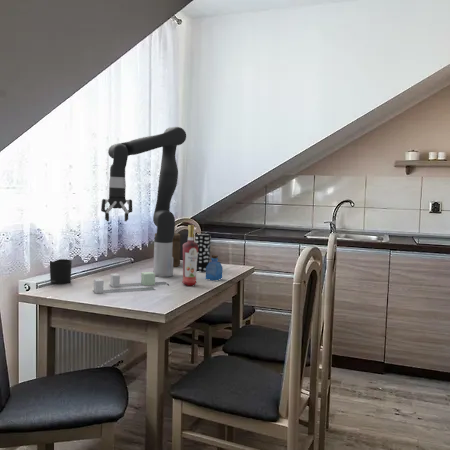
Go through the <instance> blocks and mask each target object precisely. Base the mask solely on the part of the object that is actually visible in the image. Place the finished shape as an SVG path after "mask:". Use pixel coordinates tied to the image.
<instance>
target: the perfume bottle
mask: <svg viewBox="0 0 450 450" xmlns="http://www.w3.org/2000/svg"><path fill="white" fill-rule="evenodd" d="M218 256H219V255H217V254H212V255H211V257H210V262H209V263H208V265H207V266H206V272H205V280H206V279H210V280H209V281H213V280H218V281H220V280H219V279H221V278H222V279H223V268H224V267H223V266H222V263H221V262H220V261H219V258H218ZM222 279H221V280H222Z"/></svg>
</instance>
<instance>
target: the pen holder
mask: <svg viewBox="0 0 450 450" xmlns="http://www.w3.org/2000/svg"><path fill="white" fill-rule="evenodd" d="M72 264H73V260H72V259H65V258H60V259H56V260H55V261H54V260H53V261H52V260H49V274H50V275H49V277H50V283H51V284H52V285H67V284H69V283H71V279H72V278H71V277H72Z"/></svg>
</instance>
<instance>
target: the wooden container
mask: <svg viewBox="0 0 450 450" xmlns="http://www.w3.org/2000/svg"><path fill="white" fill-rule="evenodd" d="M156 234H157V232H156V233H154V237H155V236H156ZM172 257H173V268H176V267H180V266H181V233H176V232H174V237H173V245H172Z"/></svg>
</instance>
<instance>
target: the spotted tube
mask: <svg viewBox="0 0 450 450" xmlns="http://www.w3.org/2000/svg"><path fill="white" fill-rule="evenodd" d="M211 235H212V234H210V233H195V235H194V236H195V238H194V239H195V240H194V242H195V243H197V244H198V257H197V269H196V271H199V272H198V273H206V266H207V265H208V263H209V262H211V243H212V241H211V239H212V237H211Z"/></svg>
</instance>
